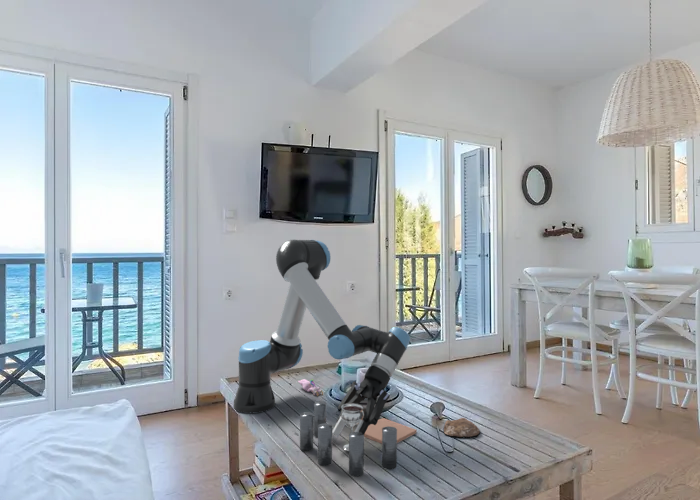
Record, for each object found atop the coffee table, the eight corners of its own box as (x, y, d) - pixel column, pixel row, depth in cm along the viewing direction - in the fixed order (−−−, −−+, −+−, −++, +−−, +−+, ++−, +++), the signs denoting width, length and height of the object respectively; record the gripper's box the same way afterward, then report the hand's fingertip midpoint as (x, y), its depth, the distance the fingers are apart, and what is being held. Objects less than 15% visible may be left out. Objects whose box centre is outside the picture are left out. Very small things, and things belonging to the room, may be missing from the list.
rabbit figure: (326, 397, 178) (304, 383, 190) (327, 384, 178) (306, 369, 189) (313, 401, 174) (292, 386, 185) (315, 387, 174) (294, 372, 185)
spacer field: (283, 446, 132) (283, 412, 132) (320, 431, 143) (320, 400, 143) (363, 487, 110) (363, 447, 110) (399, 465, 121) (399, 429, 121)
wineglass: (348, 455, 126) (348, 413, 126) (336, 445, 132) (336, 405, 131) (367, 449, 130) (368, 408, 129) (355, 440, 135) (355, 401, 135)
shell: (480, 427, 149) (480, 416, 149) (479, 443, 137) (479, 431, 137) (446, 422, 152) (446, 412, 152) (441, 437, 140) (441, 426, 140)
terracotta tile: (355, 433, 142) (355, 429, 142) (382, 420, 152) (382, 417, 152) (389, 447, 132) (389, 443, 132) (416, 432, 142) (416, 429, 142)
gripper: (410, 385, 135) (375, 456, 123) (362, 371, 148) (326, 434, 137) (400, 371, 131) (362, 443, 119) (352, 358, 144) (314, 422, 133)
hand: (343, 438), depth 128 cm, fingers closed on wineglass, 7 cm apart
